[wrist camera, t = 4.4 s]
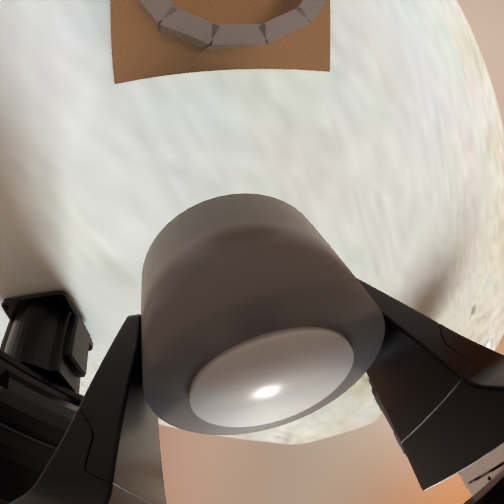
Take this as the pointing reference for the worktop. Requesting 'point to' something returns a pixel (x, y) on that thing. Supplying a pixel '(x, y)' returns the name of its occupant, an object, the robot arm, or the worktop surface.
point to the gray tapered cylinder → (249, 318)
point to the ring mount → (217, 36)
